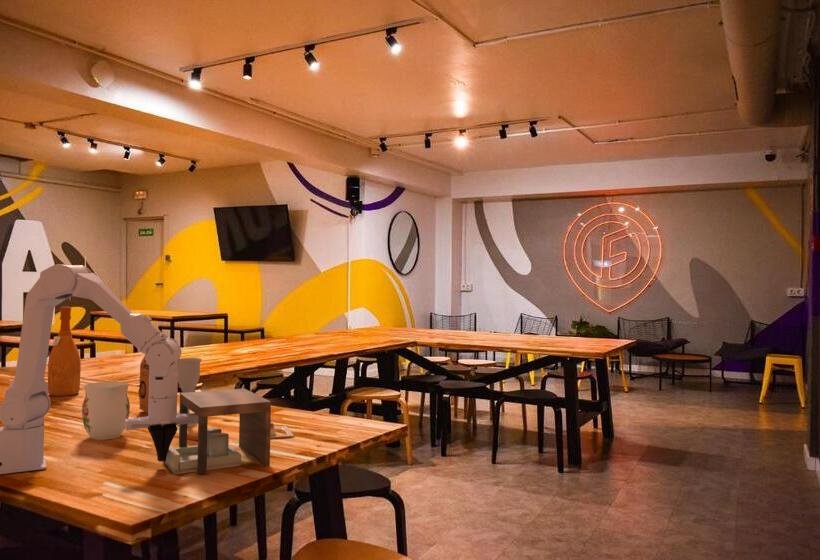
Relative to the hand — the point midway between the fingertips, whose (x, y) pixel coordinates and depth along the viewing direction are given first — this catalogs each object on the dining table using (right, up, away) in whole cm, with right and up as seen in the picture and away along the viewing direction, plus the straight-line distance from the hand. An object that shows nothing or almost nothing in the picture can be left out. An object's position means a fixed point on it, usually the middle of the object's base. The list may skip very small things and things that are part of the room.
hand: (161, 460), depth 138 cm
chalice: (-8, -2, +40) cm, 41 cm away
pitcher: (-25, -1, +27) cm, 36 cm away
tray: (+7, -2, +5) cm, 8 cm away
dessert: (+15, -3, +32) cm, 36 cm away
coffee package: (-22, -2, +55) cm, 59 cm away
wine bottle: (-65, -1, +83) cm, 105 cm away
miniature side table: (+11, -2, +7) cm, 13 cm away
